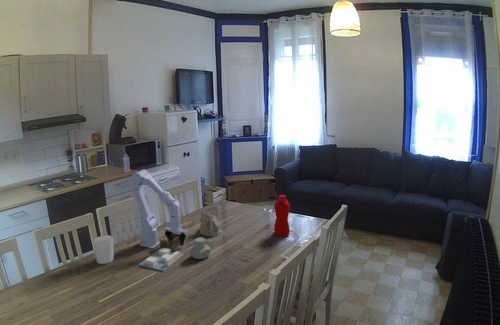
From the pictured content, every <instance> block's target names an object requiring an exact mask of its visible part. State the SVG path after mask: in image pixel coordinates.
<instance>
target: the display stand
mask: <svg viewBox="0 0 500 325" xmlns="http://www.w3.org/2000/svg"><path fill="white" fill-rule="evenodd" d="M184 256H185V254H184V253H181V252H180V251H177V250H176V251H171V249H167V248H162V249H160V248H159V249H157V250H155V252H153V253H152V254H150V255H149V256H147V257H146V258H145V259H143V260H142V261H140V262H139V263H137V266H139V267H143V268H147V269H152V270H155V271H158V272H159V271H160V272H163V273H164V272H165V271H167V269H170V267H172V266H173V265H174V264H176V262H178V261H179V260H180V259H182V258H183V257H184Z"/></svg>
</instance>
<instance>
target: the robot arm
mask: <svg viewBox="0 0 500 325" xmlns="http://www.w3.org/2000/svg"><path fill="white" fill-rule="evenodd" d="M129 180H130V190H131V193H132V195H133V198H134V200H135V204H136V205H137V207H138V211H139V213H140V216H141V217H140V218H141V219H140V224H141V227H140V228H141V230H140V232H139V241H140V242H139V243H140V244H139V246H140V247H145V248H147V249H155V247H156V246H159V245H160V240H159V239H158V228H157V226H158V225H159V219H158V218H157V217H156V216H155V214H154V213H153V212H152V211H151V208H150V207H149V203H148V201H147V199H146V196H145V193H144V191H143V186H147V187H149V188H150V189H151V190H152V191H154V192H155V193H156V194H157V196H158V199H159V200H160V201H161V202H162V203H163V204H164V206H166V207H167V208H166V209H167V212H168V213H169V225H170V226H165V227H164V228H163V229H164V230H163V231H164V236H166V238H167V241H171V240H173V238H172V236H173V233H178V234H180V235H179V239H180V247H182V246H184V245H185V239H186V237H187V235H188V230H186V229H185V228H182V227H181V212H180V209H181V207H182V204H181V202H180V200H178V199H176V198H174V197H173V196H172V195H171V193H170V192H169V191H166V190H164V189H162V188H161V186H160V185H159V184H158V183H157V181H156V180H155V179H154V178H153V176H152V174H151V173H149V171H148V170H147V169H144V168H143V169H140V170H139V171H137V172H134V173H133V174H132V175H131V177H130V178H129Z"/></svg>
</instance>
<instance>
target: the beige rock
mask: <svg viewBox="0 0 500 325" xmlns="http://www.w3.org/2000/svg"><path fill="white" fill-rule="evenodd" d="M199 225H200V227H199V234H200V235H202V236H207V237H213V238H214V237H220V236H221V235H222V234H223V229H222V223H221V222H220V221H219V219H218V218H217V217H216V216H215V215H213V214H210V213H208V214H207V213H206V211H205V210H203V211H202V213H201V215H200V224H199Z"/></svg>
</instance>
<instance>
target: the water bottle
mask: <svg viewBox="0 0 500 325" xmlns="http://www.w3.org/2000/svg"><path fill="white" fill-rule="evenodd" d="M277 198H278V200H276V201H275V203H274V212H275V214H274V215H275V222H274V225H273V226H274V227H273V232H274V235H275V237H288V236H289V235H290V225H289V216H290V217H291V216H293V214H291V215H290V210H291V204H290V202H289V201H288V199H287V198H286V195H285V194H280V195H278V196H277Z"/></svg>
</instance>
